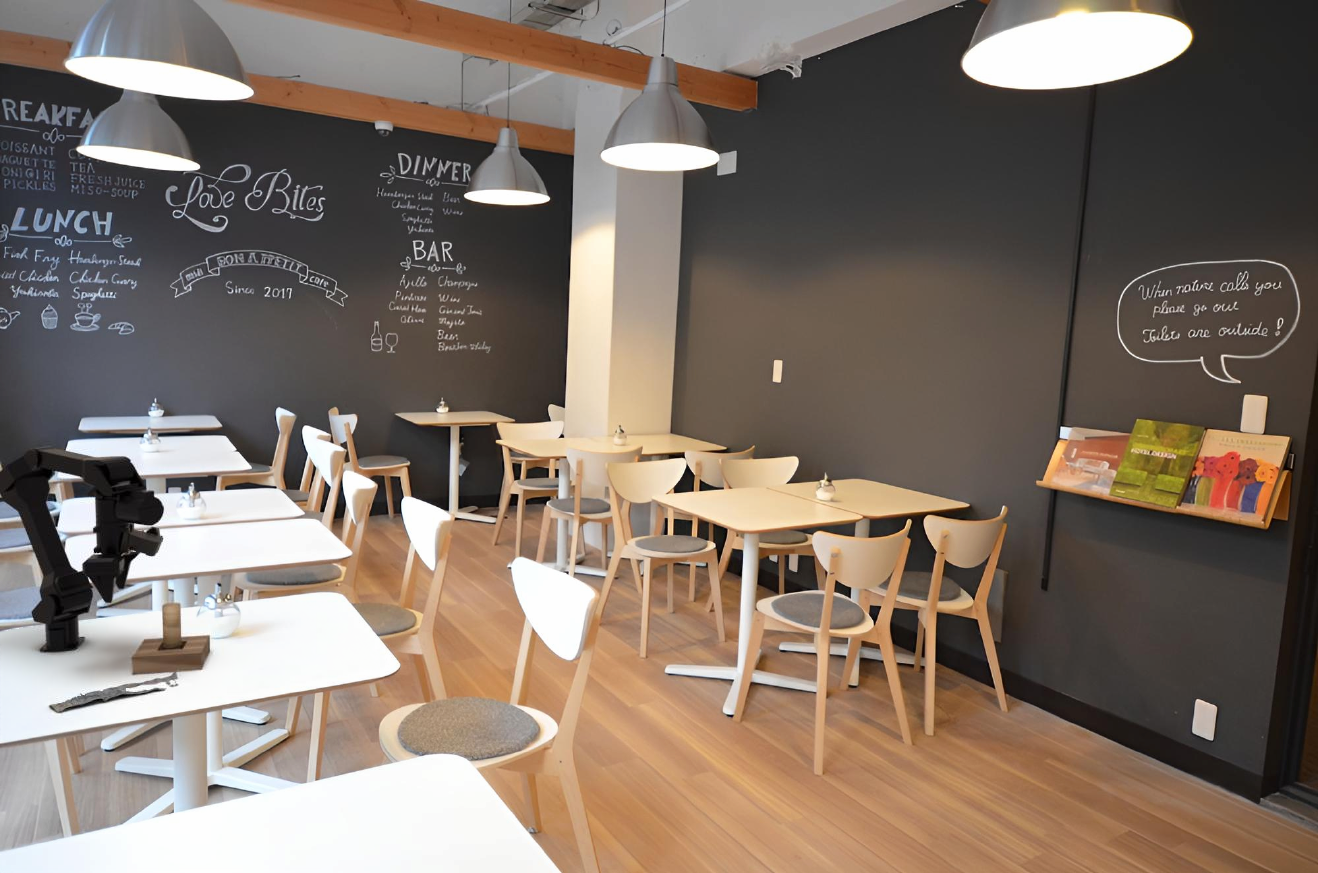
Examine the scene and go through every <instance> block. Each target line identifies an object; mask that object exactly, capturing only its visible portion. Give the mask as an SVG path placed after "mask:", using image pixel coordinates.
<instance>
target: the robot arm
mask: <svg viewBox="0 0 1318 873" xmlns="http://www.w3.org/2000/svg"><path fill="white" fill-rule="evenodd" d="M56 472H58V473H62V474H66V475H69V476H74V477H78V478H81V479H82V480H83V483H85V484H86V485H89V486H91V487H93V488H92V489H90V490H89V491H87V493H86V496H87V497H91V498H94V507H95V510H94V511H95V526H94V527H92V533H93V534H96V535H95V537H96V538H95V540H96V542H95V543H96V545H95V547H94V548H93V554H91V556H89V557H88V558H87V559H86V560H84V562H82V564H81V566H82V567H81V568H82V570H80V571H78V570H77V569H75V567H73V566H72V565H71V563H70V560H69V556H68V555H67V552H66V550H65V548H64V545H63V542H62V540H61V537H60V534H59V532H58V530H57V527H56V524H55V522H54V519H53V516H52V514H51V512H50V510H49V507H48V504H47V501H48V498H49V494H50V490H51V486H50V483H49V481H50V480H51V479H52V478H53V477H54V476H55V475H56ZM0 496H1V499H2V500H3V502H4V503H6V504H7V505H9V506H10V507H11V508H13V510H15V511H16V512H17V513H18V515H19V517H20V519H21V523H22V525H23V528H24V531H25V533H26V534H27V537H28V541H29V543H30V545H31V547H32V548H31V549H32V551H33V553H34V556H35V558H36V561H37V562H38V566H39V568H40V571H41V573H42V575H43V576H42V580H41V583H40V584H41V585H40V587H39V596H40V599H41V600H40V601H38V603H37V605H36V606H35V607H34V608H33V609H32V610H31V612H30V613H31V615H32V616H31V617H32V619H33V622H35V623H39V624H44V628H45V629H44V630H45V632H44V633H45V643H44V644H43V645H42V646H41V647H40V648H39V652H55V651H71V650H72V651H73V650H77V649H78V648H79V647H80V645H81V644H82V643H83V642H84V641H85V640H86V636H80V628H79V627H80V625H79V616H80V615H84V614H88V613H90V609H91V605H92V601H93V598H94V592H93V588H94V587H95V589H96V590H97V592H98V594H99V595H100V596H101V598H102V600H103V602H104V603H105V604H112V602H113V600H114V599H113V598H114V595H115V594H114V593H115V587H117V589H118V590H123V589H125V588H126V584H127V579H128V575H129V572H130V568H131V563H132V561H134V559H136V558H137V557H138V556H139V555H140V554H145V556H149V557H155V556H156V554H158V553H159V551H160V549H161V545H162V543H163V541H164V536H163V535H161V530H160V528H158V527H155V526H154V525H156V524H157V523H158V524H159V522H160V520H162V518H163V515H164V513H165V506H164V504H163V502H162V500H161V499H160V498H158V497H156V496H155V491H154V490H151V489H149V490H147V486H146V484H145V481H144V480H143V479H142V477H141V476H140V474H139V472H138V471H137V469H136V467H135V465H134V463H133V462H132V460H131V459H130V458H129V457H127V456H124V455H119V456H116V455H114V456H112V455H110V456H91V455H86V454H83V453H79V452H78V453H77V452H74V451H70V450H64V449H60V448H58V447H55V446H51V445H49V446H42V447H41V446H40V447H34V448H33V447H32V448H31V449H29V450H27V451H26V452H25V453H24V454H23V455H22V456H20V457H19V458H18V459H16V460H14V461H12V462H11V463H9V464H7V465H6V466H5V467H3V469H1V470H0ZM135 525H140V526H147V527H149V528H148V529H147V530H146V531H144V530H145V529H144V530H143V529H142V530H138V529H135ZM150 526H151V527H150Z"/></svg>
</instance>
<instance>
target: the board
mask: <svg viewBox="0 0 1318 873" xmlns="http://www.w3.org/2000/svg"><path fill="white" fill-rule="evenodd" d="M210 638H211V635H210V634H209V635H208V634H206V635H203V634H202V635H189V636H188V635H187V636H181V642H182V645H181V646H180V649H176V650H165V648H163V637H159V638H157V637H156V638H145V639H143V641H142V642H141V644H140V645H139V646H138V648H137V649H136V651H135V652H134V654H133V655H132V657H131V667H132V668H131V672H132V675H143V674H144V675H145V674H156V673H157V674H158V673H159V674H160V673H170V672H171V673H174V672H184V671H186V672H187V671H199V670H200V671H201V670H202V669H203V666H204V665H205V663H206V661H207V658H208V657H209V654H210V653H211V639H210Z"/></svg>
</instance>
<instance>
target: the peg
mask: <svg viewBox="0 0 1318 873" xmlns="http://www.w3.org/2000/svg"><path fill="white" fill-rule="evenodd" d="M181 607H182V606H181V603H180V602H167V603H164V604H163V605H162V606H161V609H162V610H161V612H162V638H163V648H165V650H176V649H180V646H181V645H182V642H181V637H182V619H181V618H182V613H181V611H182V610H181V609H182V608H181Z"/></svg>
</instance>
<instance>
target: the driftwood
mask: <svg viewBox="0 0 1318 873" xmlns="http://www.w3.org/2000/svg"><path fill="white" fill-rule="evenodd" d="M176 680H179V678H178V673H177V671H174V672H172V674H171V675H169V676H165V677H159V678H158V677H157V678H154V679H151V680H146V681H142V682H132V683H131V682H130V683H125V684H122V685H121V684H120V685H118V686H114V687H108V688H105V689H102V690H103V691H100V690H93V691H89V692H86V693H84V694H85V695H83V694H82V693H79V694H78V695H76V696H77V697H76V696H74V697H71V699H66V700H65V702H62V701H61V702H62V703H52V704H50V705H48V706H49V707H50V706H51V707H52V709H54V710H55V711H56V712H57V713H62V711H64V710H66V709H67V708H71V707H75V706H80V705H84V704H87V703H89V702H93V701H94V700H97V699H98V700H99V699H102V701H103V702H106V701H107V700H109V699H111V698H115V697H118V696H120V695H133V694H135V695H139V694H142V693H148V692H151V691H153V690H154V691H155V690H160V691H165V690H167V687H166V688H163V687H162V688H161V687H154V688H151V689H143V690H138V691H129V690H128V691H126V688H129V689H133V688H134V689H135V688H137V687H139V686H149V685H151V686H152V685H153V686H154V685H157V684H160V683H165V684H166V685H167V686H168V687H169V688H174V687H178V686H179V683H177V681H176ZM171 681H173V682H174V683H175V684H171ZM79 695H81V696H79ZM59 711H61V712H59Z"/></svg>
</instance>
